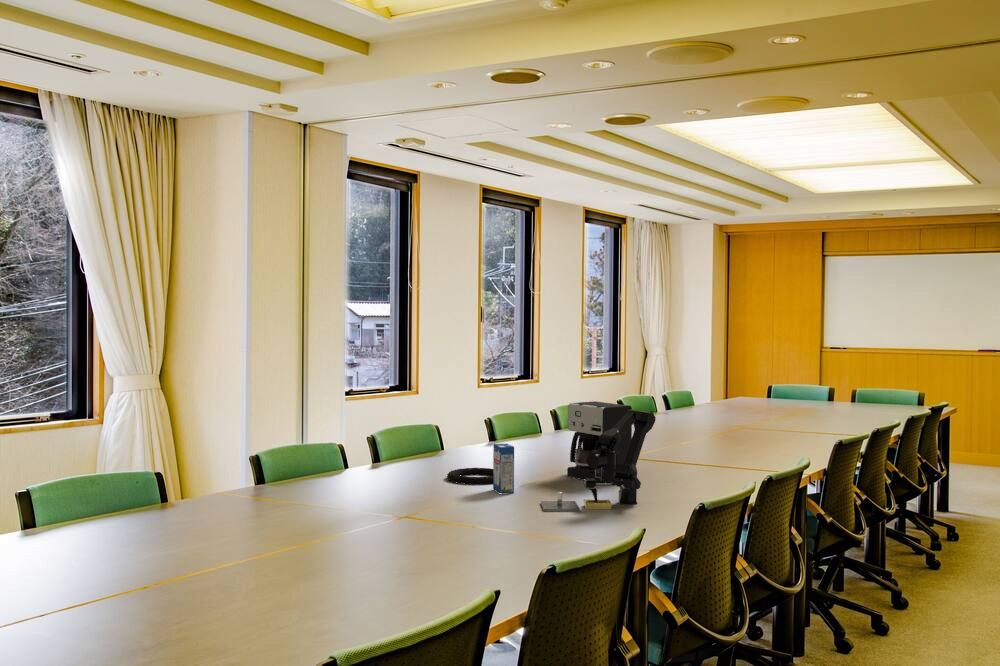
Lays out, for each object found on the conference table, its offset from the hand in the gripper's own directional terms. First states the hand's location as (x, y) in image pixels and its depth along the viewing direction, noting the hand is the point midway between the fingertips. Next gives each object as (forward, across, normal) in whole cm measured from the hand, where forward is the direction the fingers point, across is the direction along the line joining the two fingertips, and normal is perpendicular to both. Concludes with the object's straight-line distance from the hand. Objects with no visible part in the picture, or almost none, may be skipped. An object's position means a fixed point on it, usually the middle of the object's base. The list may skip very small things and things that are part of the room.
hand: (608, 504), depth 342 cm
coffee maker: (+1, -5, -64) cm, 64 cm away
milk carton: (+1, +40, -31) cm, 51 cm away
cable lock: (+2, +50, -59) cm, 77 cm away
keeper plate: (+1, +19, 0) cm, 19 cm away
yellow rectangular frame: (+1, +4, 0) cm, 4 cm away
